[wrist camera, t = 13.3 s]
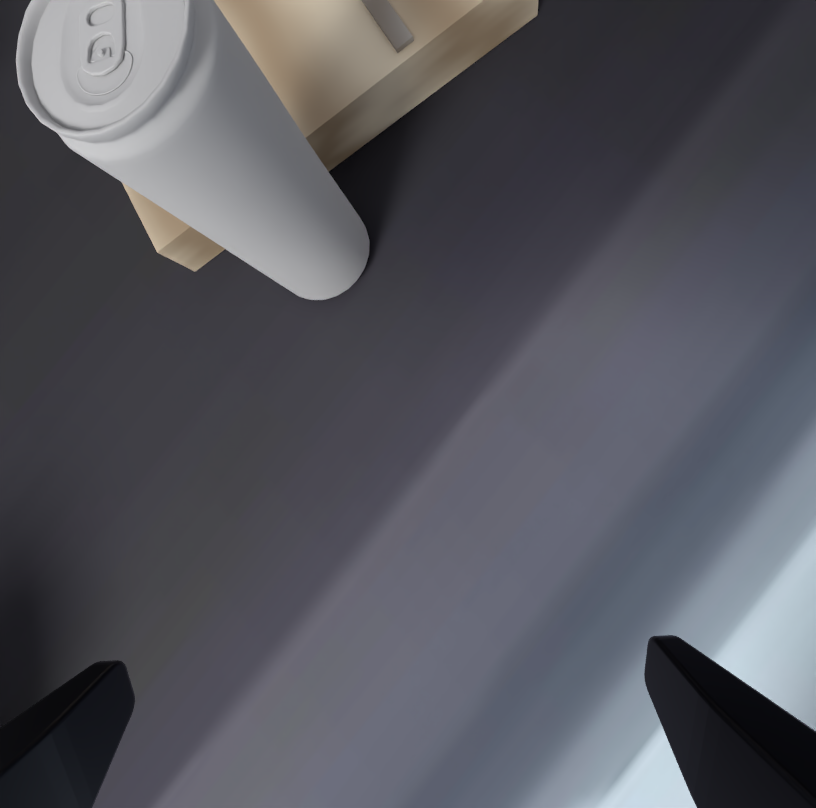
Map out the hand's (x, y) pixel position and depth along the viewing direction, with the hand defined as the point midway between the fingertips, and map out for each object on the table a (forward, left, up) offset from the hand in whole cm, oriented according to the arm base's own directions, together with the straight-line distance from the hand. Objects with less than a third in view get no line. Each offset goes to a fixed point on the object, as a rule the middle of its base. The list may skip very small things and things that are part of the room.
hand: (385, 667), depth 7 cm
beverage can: (+12, -8, -12) cm, 18 cm away
